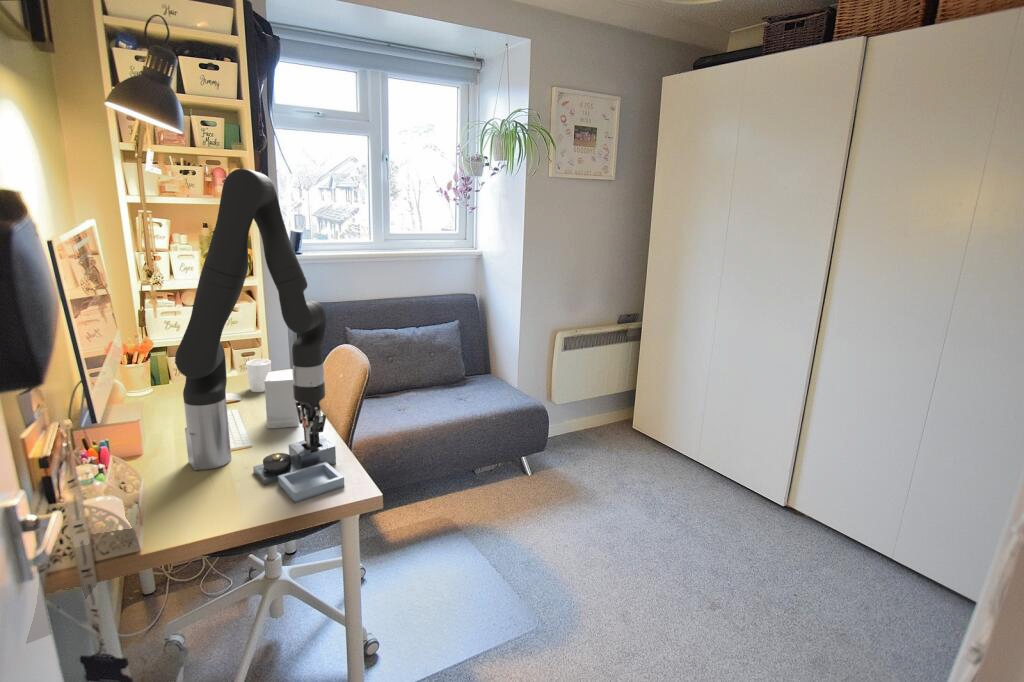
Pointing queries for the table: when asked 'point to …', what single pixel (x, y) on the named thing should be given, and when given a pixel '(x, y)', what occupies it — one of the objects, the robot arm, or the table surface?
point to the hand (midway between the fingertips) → (311, 443)
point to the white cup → (258, 373)
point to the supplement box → (280, 400)
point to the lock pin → (308, 436)
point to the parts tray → (310, 481)
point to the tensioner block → (295, 460)
